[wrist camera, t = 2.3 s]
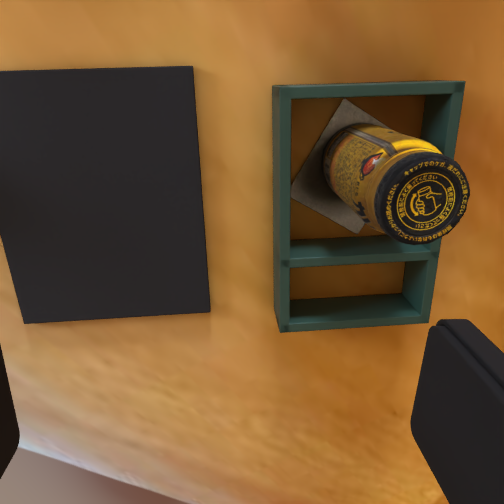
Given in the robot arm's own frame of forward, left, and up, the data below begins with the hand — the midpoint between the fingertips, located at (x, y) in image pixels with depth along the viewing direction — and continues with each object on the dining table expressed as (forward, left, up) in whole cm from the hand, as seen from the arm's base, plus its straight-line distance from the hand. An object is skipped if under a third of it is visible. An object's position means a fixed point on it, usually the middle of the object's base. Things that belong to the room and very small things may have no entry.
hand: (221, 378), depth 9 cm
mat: (+3, -9, -26) cm, 28 cm away
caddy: (+4, +11, -26) cm, 28 cm away
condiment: (+1, +11, -26) cm, 28 cm away
